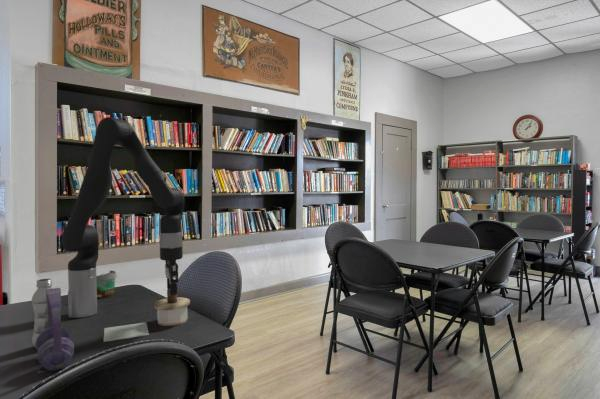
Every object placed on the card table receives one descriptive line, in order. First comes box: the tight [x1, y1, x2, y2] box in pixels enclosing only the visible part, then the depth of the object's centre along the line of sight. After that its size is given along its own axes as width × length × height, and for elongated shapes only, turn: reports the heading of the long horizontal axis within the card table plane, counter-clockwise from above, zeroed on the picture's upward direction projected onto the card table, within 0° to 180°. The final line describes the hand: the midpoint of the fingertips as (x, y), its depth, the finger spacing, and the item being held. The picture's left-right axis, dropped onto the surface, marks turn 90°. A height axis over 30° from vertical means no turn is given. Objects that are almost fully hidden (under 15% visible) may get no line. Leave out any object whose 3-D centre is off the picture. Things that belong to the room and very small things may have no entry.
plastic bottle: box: [31, 278, 53, 349], centre depth 119 cm, size 6×7×20 cm
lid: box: [153, 288, 191, 310], centre depth 140 cm, size 12×12×6 cm
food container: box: [96, 270, 118, 299], centre depth 174 cm, size 12×6×10 cm, turn 168°
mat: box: [103, 322, 150, 343], centre depth 130 cm, size 13×13×1 cm
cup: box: [156, 306, 189, 327], centre depth 140 cm, size 10×10×6 cm
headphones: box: [35, 287, 75, 371], centre depth 108 cm, size 18×8×20 cm, turn 36°
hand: (172, 291), depth 140 cm, fingers open, 8 cm apart
